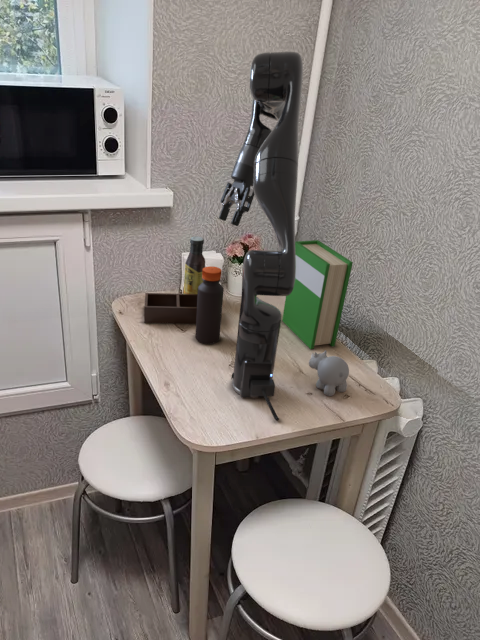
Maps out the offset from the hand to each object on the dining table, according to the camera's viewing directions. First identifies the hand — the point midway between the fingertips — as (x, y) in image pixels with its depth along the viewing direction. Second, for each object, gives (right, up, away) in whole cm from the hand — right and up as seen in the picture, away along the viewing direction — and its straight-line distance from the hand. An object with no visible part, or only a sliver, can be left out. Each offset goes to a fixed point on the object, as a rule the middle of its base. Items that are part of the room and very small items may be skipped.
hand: (228, 222), depth 151 cm
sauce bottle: (-10, -20, +16) cm, 27 cm away
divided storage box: (-15, -26, +5) cm, 31 cm away
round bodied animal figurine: (+22, -47, -23) cm, 56 cm away
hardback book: (+23, -32, -1) cm, 39 cm away
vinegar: (-6, -34, -6) cm, 35 cm away
